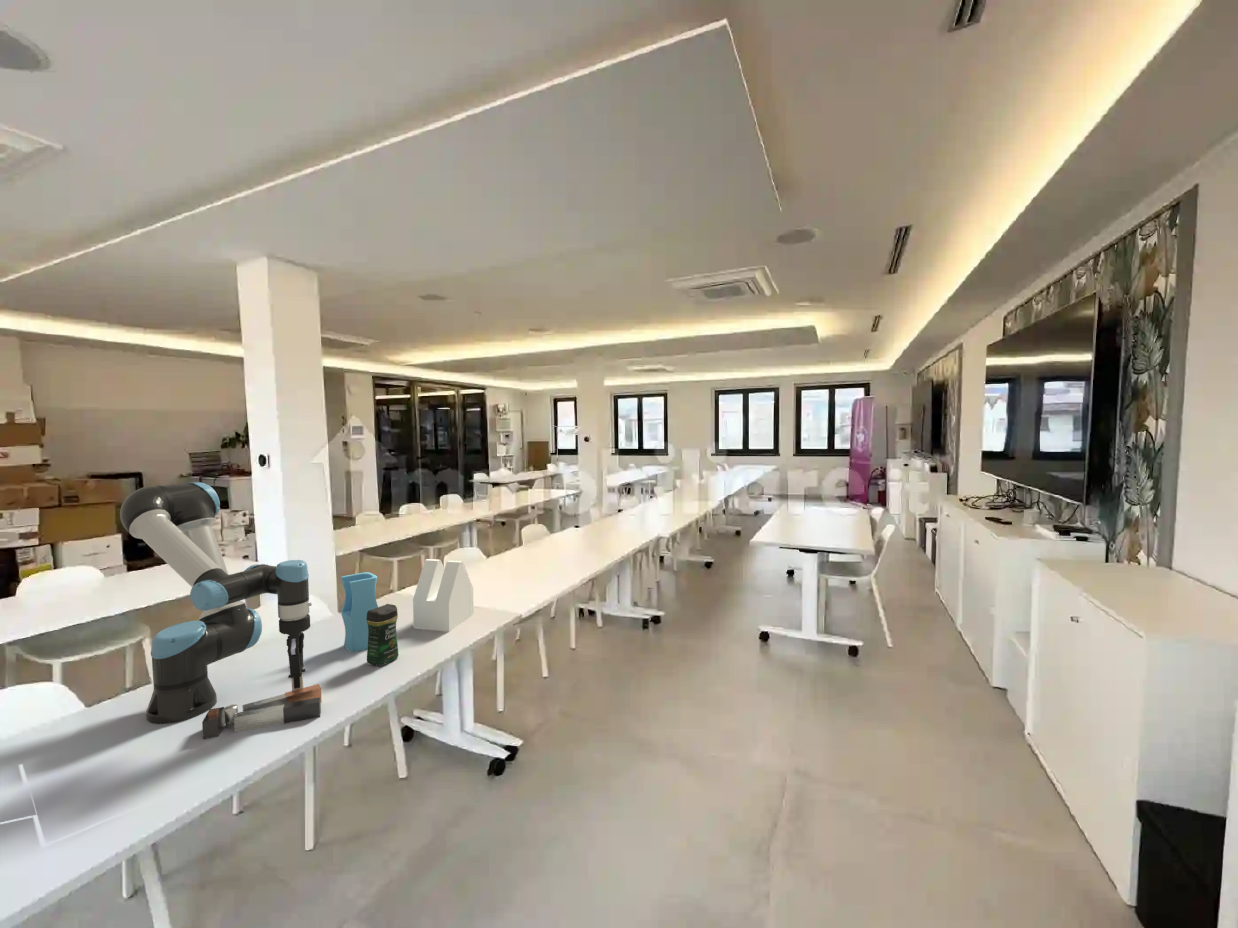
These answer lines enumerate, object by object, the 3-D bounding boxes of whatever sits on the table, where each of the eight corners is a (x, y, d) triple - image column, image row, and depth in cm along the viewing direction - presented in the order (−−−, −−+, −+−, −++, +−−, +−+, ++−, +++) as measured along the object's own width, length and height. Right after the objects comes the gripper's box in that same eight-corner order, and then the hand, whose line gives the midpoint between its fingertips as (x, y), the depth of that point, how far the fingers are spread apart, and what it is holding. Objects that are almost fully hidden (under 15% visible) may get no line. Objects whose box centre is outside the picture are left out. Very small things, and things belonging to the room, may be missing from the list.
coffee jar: (380, 668, 177) (378, 612, 175) (362, 664, 180) (361, 609, 178) (403, 656, 185) (402, 603, 184) (386, 652, 189) (384, 600, 187)
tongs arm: (225, 728, 140) (224, 711, 140) (224, 724, 143) (224, 706, 142) (321, 701, 154) (320, 685, 154) (319, 697, 157) (318, 681, 156)
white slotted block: (449, 631, 208) (448, 567, 206) (413, 628, 212) (412, 565, 210) (473, 614, 227) (472, 556, 225) (440, 611, 230) (439, 553, 229)
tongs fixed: (203, 739, 136) (202, 718, 135) (210, 726, 142) (209, 705, 141) (319, 717, 146) (319, 698, 146) (322, 706, 152) (321, 687, 152)
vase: (342, 644, 195) (340, 576, 194) (370, 637, 202) (368, 571, 200) (352, 653, 188) (349, 582, 187) (380, 645, 195) (379, 576, 193)
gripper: (307, 622, 148) (311, 705, 150) (311, 606, 160) (315, 684, 162) (275, 626, 145) (279, 711, 147) (282, 610, 156) (286, 689, 158)
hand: (298, 696), depth 154 cm, fingers closed
